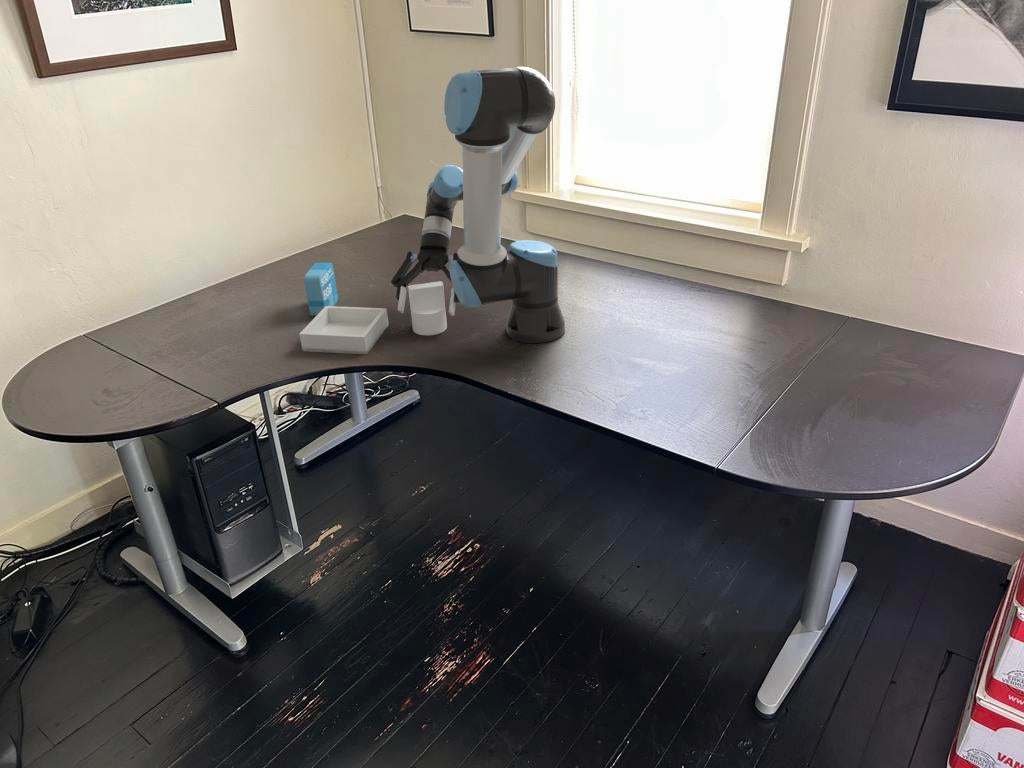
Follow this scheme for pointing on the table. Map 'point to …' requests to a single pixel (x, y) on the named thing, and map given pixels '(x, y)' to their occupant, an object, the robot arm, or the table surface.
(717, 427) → the table surface
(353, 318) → the bin
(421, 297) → the base with upright slab
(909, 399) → the table surface
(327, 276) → the data package
